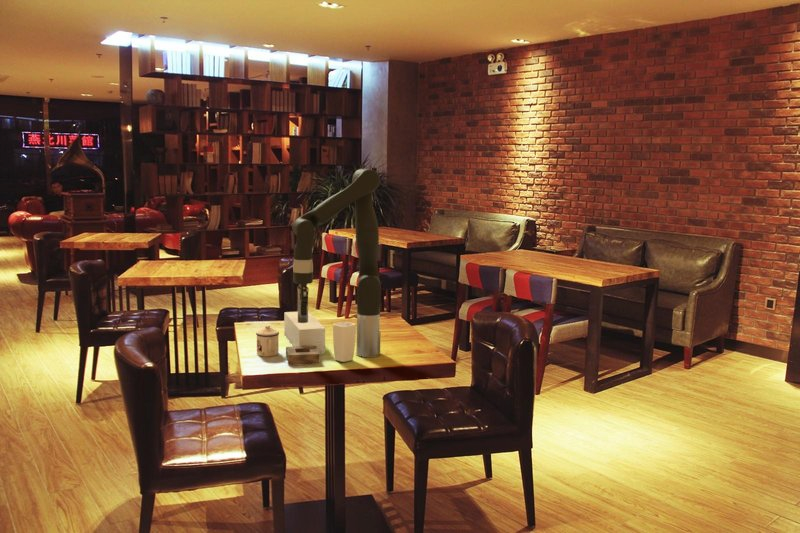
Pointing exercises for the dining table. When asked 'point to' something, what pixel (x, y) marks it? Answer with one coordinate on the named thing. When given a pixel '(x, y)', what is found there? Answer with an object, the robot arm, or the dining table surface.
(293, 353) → the socket block
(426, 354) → the dining table surface
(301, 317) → the metal pin
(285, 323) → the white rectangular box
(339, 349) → the cup
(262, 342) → the teacup with lid
